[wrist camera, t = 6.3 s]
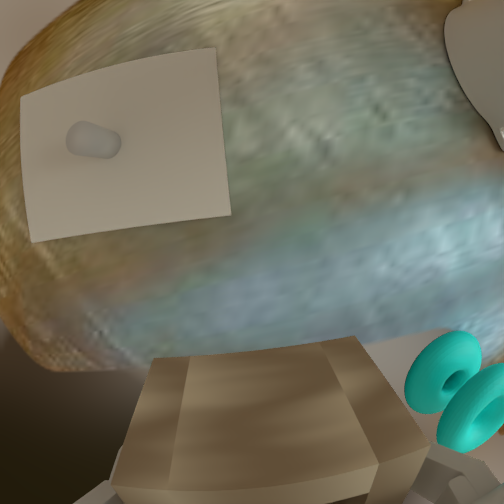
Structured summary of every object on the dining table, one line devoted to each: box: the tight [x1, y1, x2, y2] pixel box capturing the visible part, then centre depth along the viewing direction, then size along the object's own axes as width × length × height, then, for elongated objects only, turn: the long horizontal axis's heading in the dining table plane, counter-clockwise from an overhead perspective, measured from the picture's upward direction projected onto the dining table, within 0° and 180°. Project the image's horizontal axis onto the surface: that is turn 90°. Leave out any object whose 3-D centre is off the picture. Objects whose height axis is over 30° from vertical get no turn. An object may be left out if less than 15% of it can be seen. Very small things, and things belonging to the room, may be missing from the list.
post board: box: [20, 47, 231, 243], centre depth 18 cm, size 16×12×6 cm
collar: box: [111, 336, 431, 504], centre depth 8 cm, size 6×6×5 cm
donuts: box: [404, 331, 504, 454], centre depth 23 cm, size 10×10×10 cm
